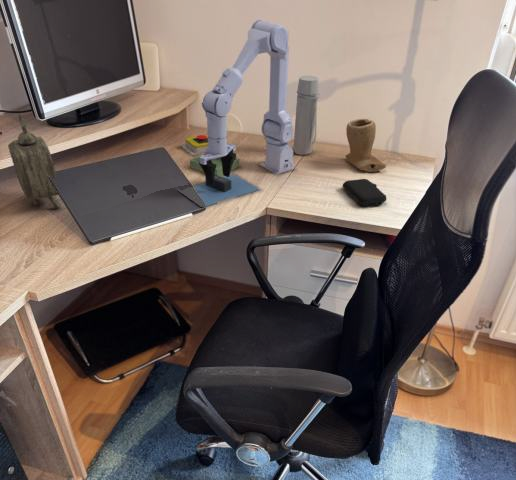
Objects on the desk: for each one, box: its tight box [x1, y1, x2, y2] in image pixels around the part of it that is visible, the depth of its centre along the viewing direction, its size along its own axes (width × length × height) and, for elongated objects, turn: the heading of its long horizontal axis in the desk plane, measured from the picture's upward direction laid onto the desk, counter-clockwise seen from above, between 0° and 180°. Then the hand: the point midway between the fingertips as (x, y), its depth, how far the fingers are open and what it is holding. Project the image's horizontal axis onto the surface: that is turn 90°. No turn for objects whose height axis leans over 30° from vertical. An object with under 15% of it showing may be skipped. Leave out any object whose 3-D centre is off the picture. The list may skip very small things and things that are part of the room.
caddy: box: [189, 153, 240, 177], centre depth 171 cm, size 12×12×3 cm
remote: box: [204, 175, 231, 192], centre depth 159 cm, size 8×3×3 cm, turn 53°
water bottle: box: [292, 75, 321, 156], centre depth 176 cm, size 9×8×25 cm
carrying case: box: [342, 178, 387, 207], centre depth 157 cm, size 11×3×15 cm
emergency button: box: [181, 133, 208, 156], centre depth 183 cm, size 9×4×15 cm
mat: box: [192, 173, 260, 209], centre depth 158 cm, size 14×22×1 cm, turn 128°
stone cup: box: [344, 118, 387, 173], centre depth 172 cm, size 15×12×15 cm
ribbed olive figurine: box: [7, 113, 60, 210], centre depth 140 cm, size 14×9×25 cm, turn 30°
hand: (218, 179), depth 158 cm, fingers open, 7 cm apart
